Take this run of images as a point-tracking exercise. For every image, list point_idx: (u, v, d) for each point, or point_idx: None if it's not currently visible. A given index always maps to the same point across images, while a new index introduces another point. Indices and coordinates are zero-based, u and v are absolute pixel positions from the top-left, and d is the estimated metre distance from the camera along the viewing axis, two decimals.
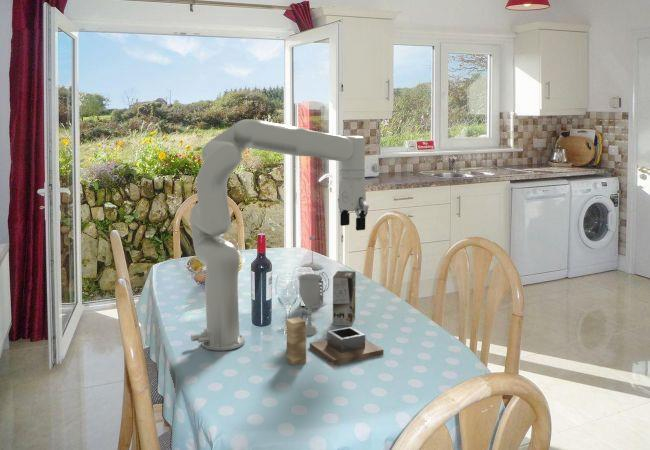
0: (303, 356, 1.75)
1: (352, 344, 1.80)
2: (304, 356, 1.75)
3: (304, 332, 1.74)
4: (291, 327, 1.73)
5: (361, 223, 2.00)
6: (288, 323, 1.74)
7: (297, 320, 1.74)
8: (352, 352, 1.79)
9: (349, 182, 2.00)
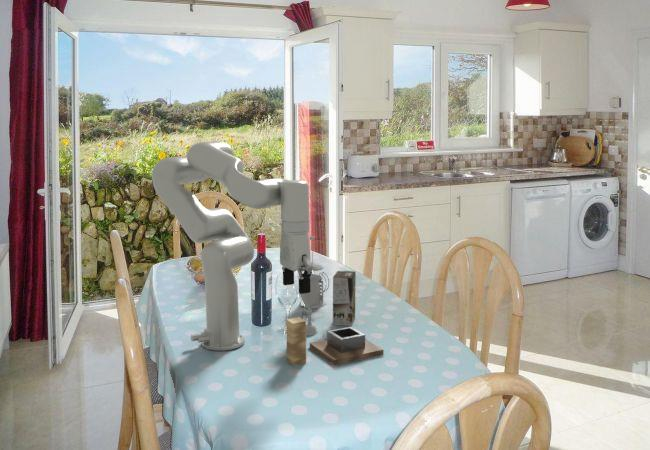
0: (303, 356, 1.75)
1: (352, 344, 1.80)
2: (304, 356, 1.75)
3: (304, 332, 1.74)
4: (291, 327, 1.73)
5: (305, 285, 1.67)
6: (288, 323, 1.74)
7: (297, 320, 1.74)
8: (352, 352, 1.79)
9: (290, 236, 1.67)
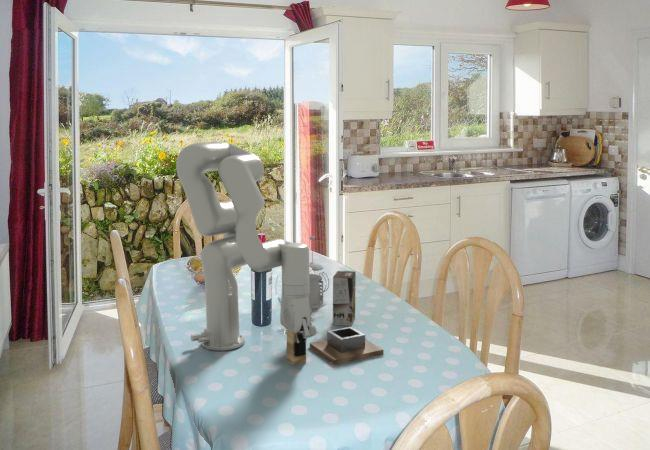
0: (303, 356, 1.75)
1: (352, 344, 1.80)
2: (304, 356, 1.75)
3: None
4: None
5: (300, 348, 1.73)
6: None
7: None
8: (352, 352, 1.79)
9: (290, 299, 1.70)
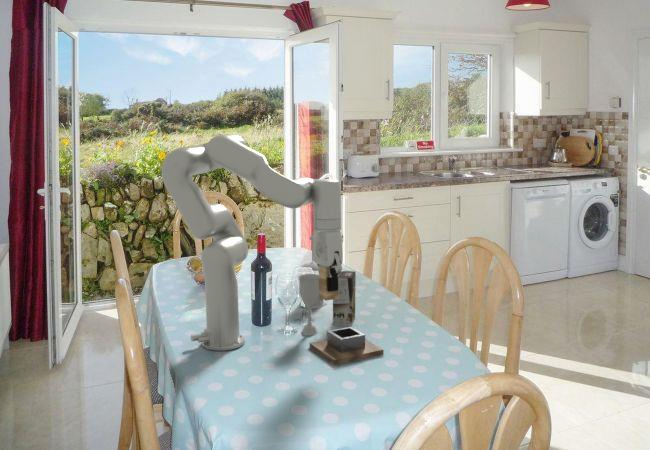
0: (335, 292, 1.76)
1: (352, 344, 1.80)
2: (336, 292, 1.76)
3: None
4: None
5: (333, 283, 1.74)
6: None
7: None
8: (352, 352, 1.79)
9: (322, 234, 1.72)
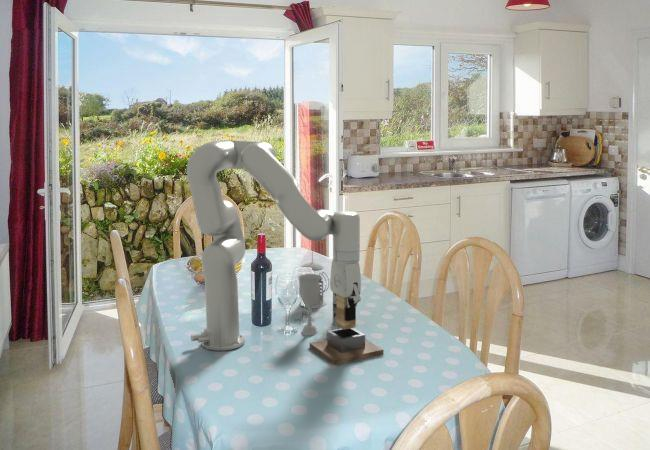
0: (353, 321, 1.81)
1: (352, 344, 1.80)
2: (354, 321, 1.81)
3: None
4: None
5: (351, 313, 1.79)
6: None
7: None
8: (352, 352, 1.79)
9: (342, 265, 1.76)
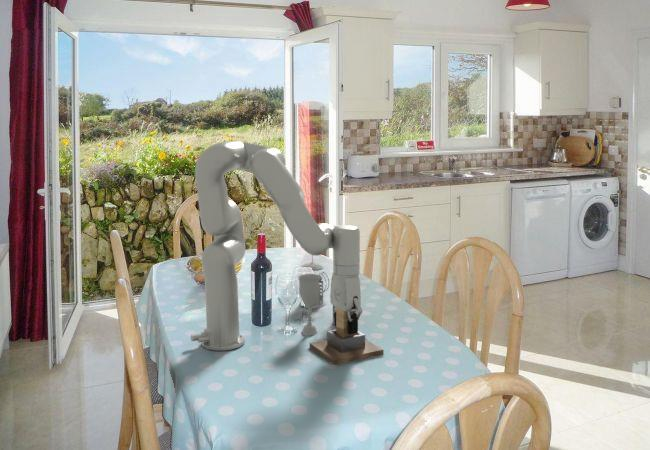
0: None
1: (352, 344, 1.80)
2: None
3: None
4: (342, 312, 1.80)
5: (353, 326, 1.78)
6: None
7: None
8: (352, 352, 1.79)
9: (342, 279, 1.77)
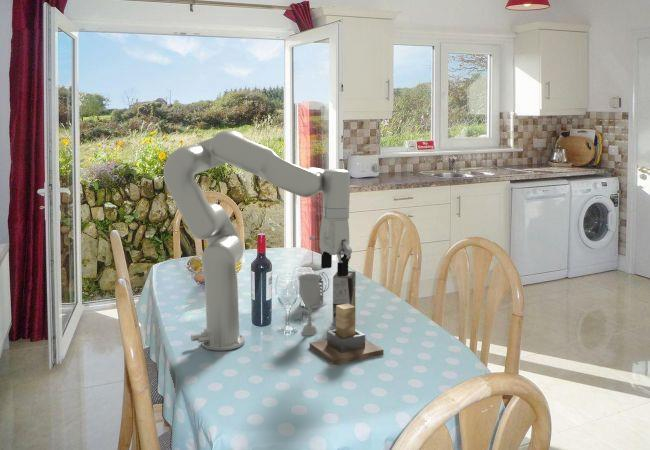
0: None
1: (352, 344, 1.80)
2: None
3: (354, 317, 1.81)
4: (342, 313, 1.80)
5: (343, 268, 1.77)
6: (339, 308, 1.81)
7: (346, 306, 1.81)
8: (352, 352, 1.79)
9: (331, 222, 1.77)
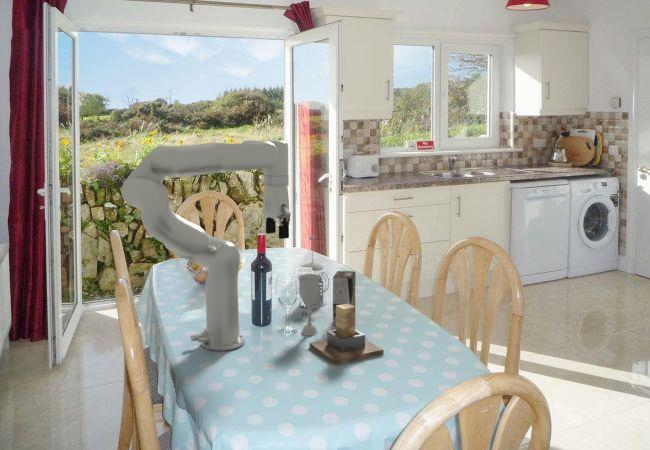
0: None
1: (352, 344, 1.80)
2: None
3: (354, 317, 1.81)
4: (342, 313, 1.80)
5: (284, 231, 1.92)
6: (339, 308, 1.81)
7: (346, 306, 1.81)
8: (352, 352, 1.79)
9: (271, 189, 1.92)
